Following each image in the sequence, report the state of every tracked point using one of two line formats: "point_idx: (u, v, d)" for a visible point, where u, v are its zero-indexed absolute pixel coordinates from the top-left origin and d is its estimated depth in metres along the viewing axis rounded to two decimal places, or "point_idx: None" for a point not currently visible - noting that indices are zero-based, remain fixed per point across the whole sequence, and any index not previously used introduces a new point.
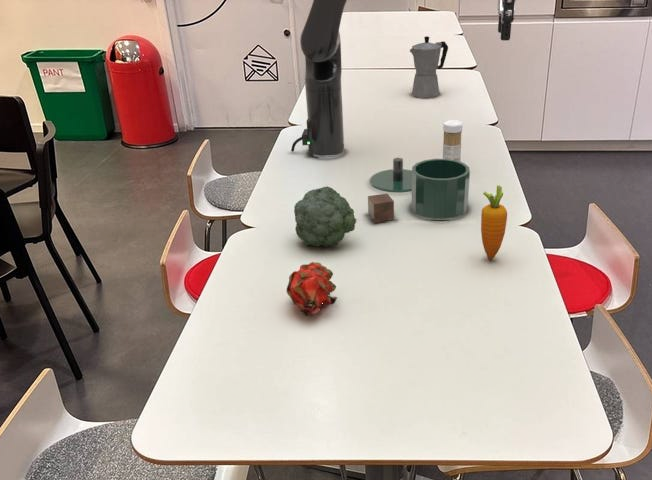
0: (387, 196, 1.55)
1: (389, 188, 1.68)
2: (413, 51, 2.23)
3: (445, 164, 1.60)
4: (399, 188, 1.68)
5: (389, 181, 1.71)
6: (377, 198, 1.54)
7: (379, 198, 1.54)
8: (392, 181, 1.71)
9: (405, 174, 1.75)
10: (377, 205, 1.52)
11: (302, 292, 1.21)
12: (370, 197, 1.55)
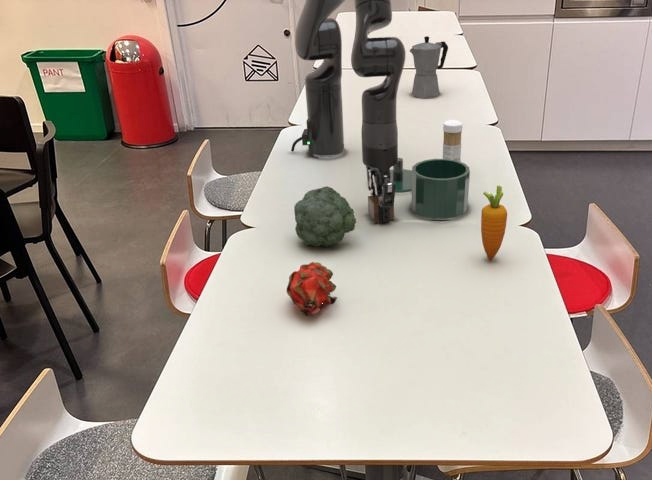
0: None
1: None
2: (413, 51, 2.23)
3: (445, 164, 1.60)
4: (399, 188, 1.68)
5: None
6: (377, 198, 1.54)
7: None
8: (392, 181, 1.71)
9: (405, 174, 1.75)
10: (377, 205, 1.52)
11: (302, 292, 1.21)
12: (370, 197, 1.55)
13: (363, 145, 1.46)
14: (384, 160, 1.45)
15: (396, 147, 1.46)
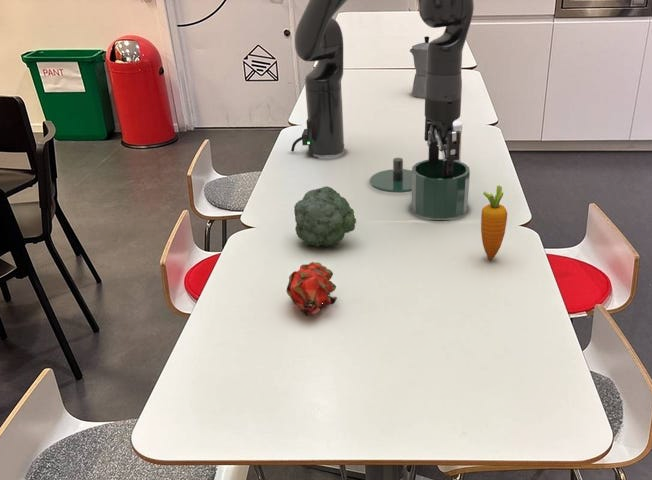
0: None
1: (389, 188, 1.68)
2: (413, 51, 2.23)
3: None
4: (399, 188, 1.68)
5: (389, 181, 1.71)
6: None
7: None
8: (392, 181, 1.71)
9: (405, 174, 1.75)
10: None
11: (302, 292, 1.21)
12: None
13: (427, 98, 1.44)
14: (448, 113, 1.44)
15: (460, 100, 1.45)
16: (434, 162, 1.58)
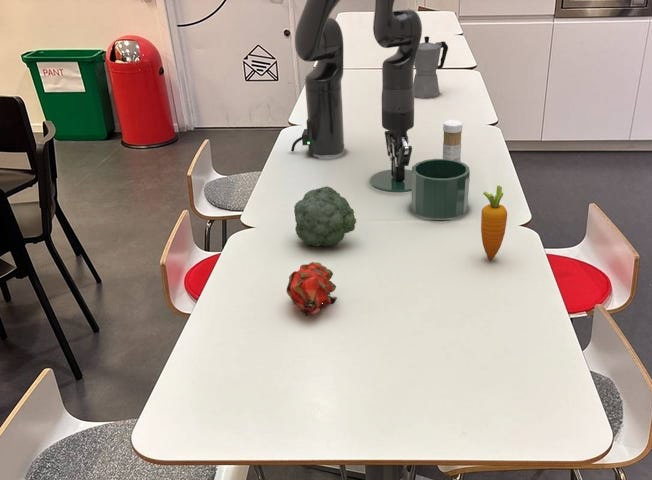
0: None
1: (389, 188, 1.68)
2: None
3: (445, 164, 1.60)
4: (399, 188, 1.68)
5: (389, 181, 1.71)
6: None
7: None
8: (392, 181, 1.71)
9: (405, 174, 1.75)
10: None
11: (302, 292, 1.21)
12: None
13: (383, 110, 1.61)
14: (402, 123, 1.61)
15: (413, 112, 1.61)
16: None
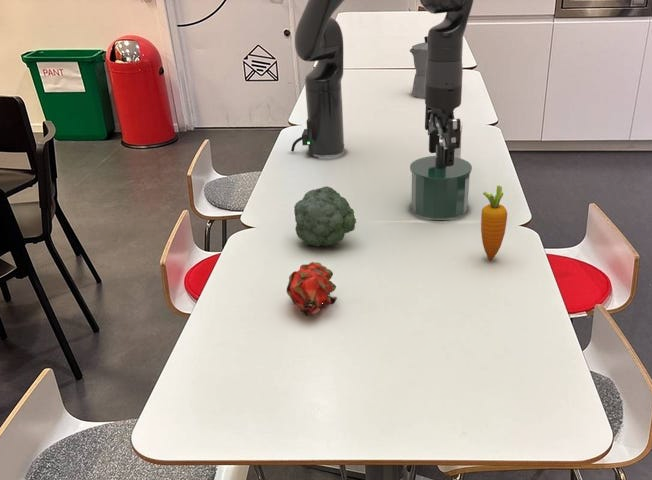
0: None
1: (432, 176, 1.50)
2: (413, 51, 2.23)
3: None
4: (443, 176, 1.50)
5: (431, 168, 1.53)
6: None
7: None
8: (434, 168, 1.53)
9: None
10: None
11: (302, 292, 1.21)
12: None
13: (427, 85, 1.43)
14: (449, 100, 1.43)
15: (461, 88, 1.43)
16: (434, 151, 1.56)
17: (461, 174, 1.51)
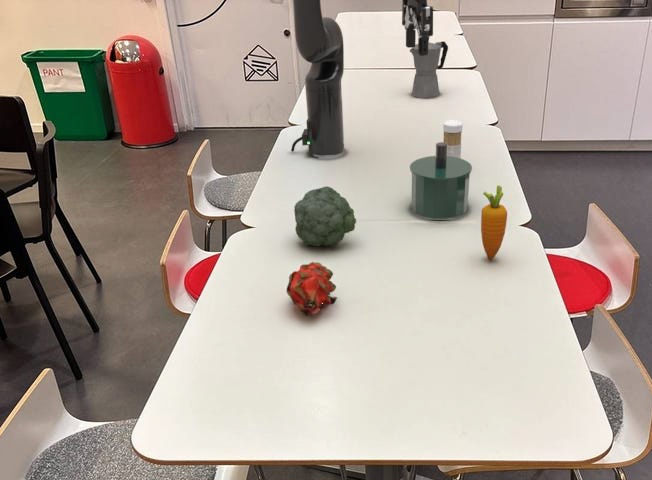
0: None
1: (432, 176, 1.50)
2: (413, 51, 2.23)
3: None
4: (443, 176, 1.50)
5: (431, 168, 1.53)
6: None
7: None
8: (434, 168, 1.53)
9: (448, 161, 1.57)
10: None
11: (302, 292, 1.21)
12: None
13: None
14: None
15: None
16: (411, 46, 1.68)
17: (461, 174, 1.51)
